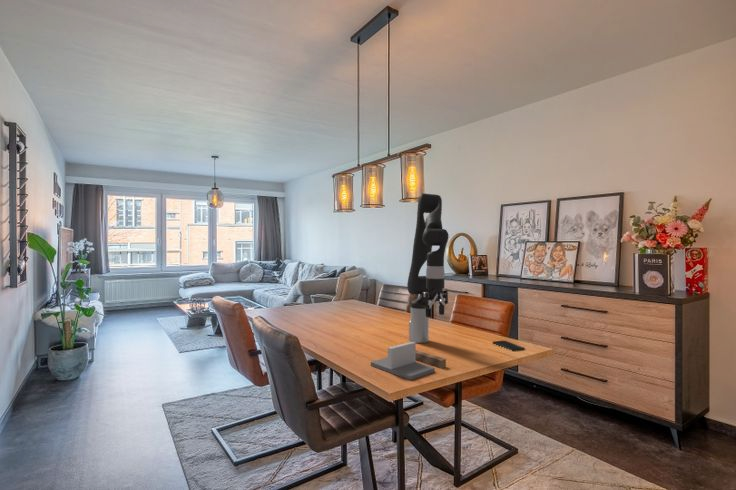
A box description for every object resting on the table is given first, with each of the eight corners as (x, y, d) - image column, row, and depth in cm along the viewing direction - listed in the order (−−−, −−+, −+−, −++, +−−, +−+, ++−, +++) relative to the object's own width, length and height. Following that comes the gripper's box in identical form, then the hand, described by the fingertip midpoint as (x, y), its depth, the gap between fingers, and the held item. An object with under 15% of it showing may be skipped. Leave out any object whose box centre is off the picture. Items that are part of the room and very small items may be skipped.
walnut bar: (405, 357, 172) (405, 349, 172) (410, 356, 174) (410, 348, 174) (441, 369, 157) (441, 360, 157) (445, 367, 159) (445, 359, 159)
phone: (504, 340, 198) (525, 348, 184) (504, 342, 198) (525, 350, 184) (491, 341, 195) (512, 349, 181) (491, 344, 195) (512, 352, 181)
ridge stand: (370, 365, 160) (370, 342, 160) (394, 358, 169) (394, 337, 169) (410, 380, 144) (410, 354, 143) (434, 371, 153) (434, 347, 153)
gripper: (438, 275, 169) (438, 312, 169) (417, 277, 160) (416, 316, 160) (453, 276, 163) (452, 315, 164) (431, 278, 154) (431, 319, 154)
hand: (435, 316), depth 162 cm, fingers open, 8 cm apart
